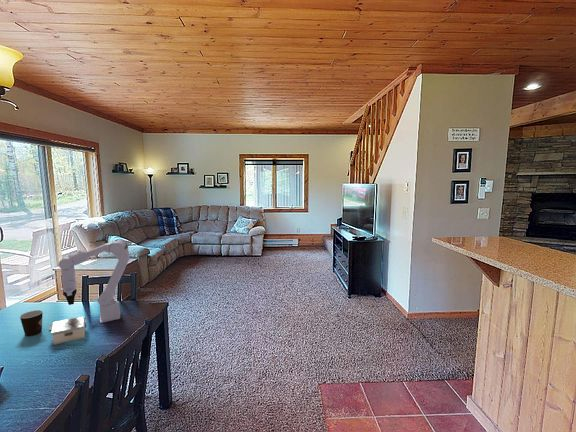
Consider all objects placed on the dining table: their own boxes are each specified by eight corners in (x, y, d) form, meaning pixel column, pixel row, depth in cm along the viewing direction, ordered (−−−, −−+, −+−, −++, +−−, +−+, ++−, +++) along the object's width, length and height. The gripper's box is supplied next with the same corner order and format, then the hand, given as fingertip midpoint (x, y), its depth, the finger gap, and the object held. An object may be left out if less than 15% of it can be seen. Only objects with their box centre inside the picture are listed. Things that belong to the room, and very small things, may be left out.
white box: (87, 325, 158) (86, 315, 157) (87, 338, 146) (86, 327, 145) (55, 332, 151) (54, 322, 150) (53, 346, 139) (52, 335, 138)
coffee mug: (31, 338, 145) (29, 319, 144) (17, 336, 147) (15, 317, 146) (54, 326, 157) (52, 308, 155) (41, 325, 158) (39, 307, 157)
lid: (83, 317, 156) (83, 316, 156) (83, 327, 146) (83, 326, 146) (50, 323, 148) (50, 322, 148) (48, 335, 138) (48, 333, 138)
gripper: (60, 277, 161) (62, 301, 163) (58, 285, 149) (61, 311, 151) (76, 274, 165) (78, 298, 167) (75, 282, 153) (78, 307, 155)
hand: (71, 304), depth 159 cm, fingers closed
